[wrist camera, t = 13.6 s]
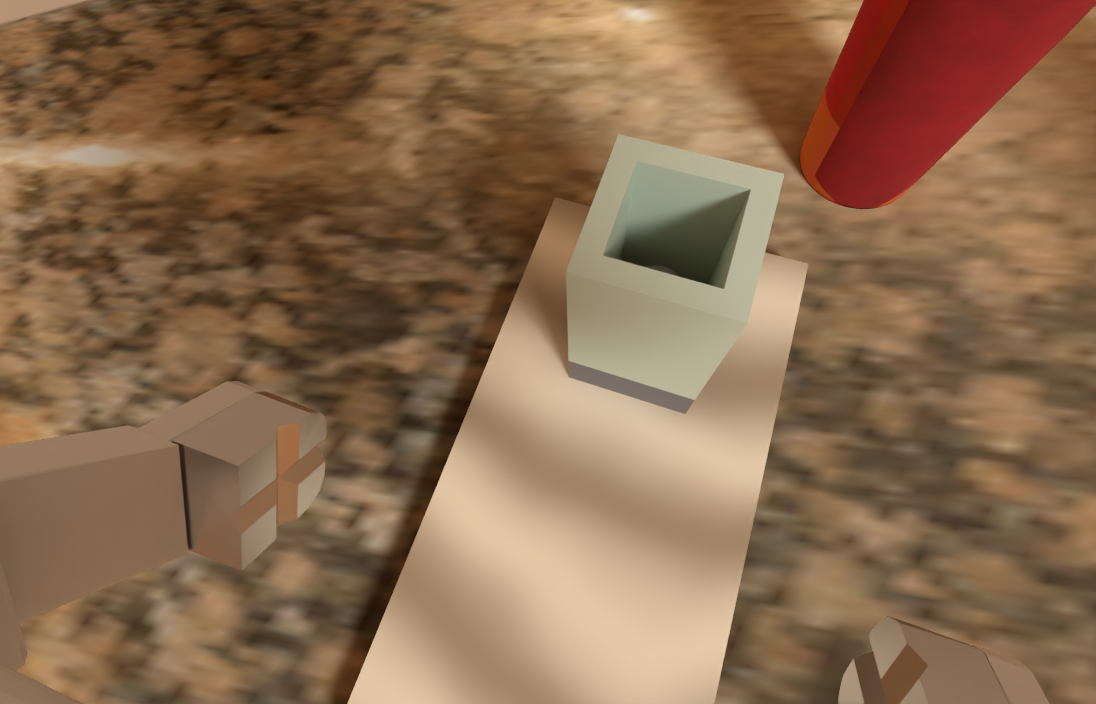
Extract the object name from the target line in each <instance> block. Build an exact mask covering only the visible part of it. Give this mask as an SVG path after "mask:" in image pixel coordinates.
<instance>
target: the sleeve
mask: <svg viewBox="0 0 1096 704" xmlns="http://www.w3.org/2000/svg"><path fill="white" fill-rule="evenodd" d="M783 178H784V174H782V173H778V172H774V171H769V170H765V169H761V168H757V167H753V166H749V165H745V164H740V163H736V162H732V161H728V160H724V159H720V158H716V157H711V156H707V155H703V154H699V153H695V152H691V151H687V150H682V149H678V148H674V147H670V146H666V145H662V144H657V143H653V142H649V141H645V140H641V139H637V138H633V137H628V136H624V135H620V134H618V137H617V140H616V142H615V145H614V147H613V150H612V153H611V155H610V158H609V161H608V163H607V166H606V168H605V171H604V174H603V176H602V179H601V181H600V184H599V187H598V189H597V192H596V195H595V197H594V200H593V202H592V205H591V208H590V210H589V213H588V215H587V218H586V221H585V223H584V226H583V229H582V231H581V234H580V236H579V239H578V242H577V244H576V247H575V249H574V252H573V255H572V257H571V260H570V263H569V265H568V268H567V270H566V289H567V324H568V359H569V378H573V379H576V380H579V381H582V382H585V383H588V384H592V385H595V386H598V387H601V388H604V389H607V390H611V391H614V392H617V393H620V394H623V395H626V396H629V397H633V398H636V399H639V400H642V401H645V402H648V403H652V404H655V405H658V406H661V407H664V408H667V409H671V410H674V411H677V412H680V413H683V414H686V412H687V411H688V409H689V408H690V406H691V405H692V404H693V402H694V401H695V399H696V398H697V396H698V395H699V393H700V392H701V390H702V389H703V388H704V386H705V385H706V383H707V382H708V380H709V379H710V377H711V376H712V374H713V373H714V371H715V370H716V369H717V367H718V366H719V364H720V363H721V361H722V360H723V358H724V357H725V355H726V354H727V353H728V351H729V350H730V348H731V347H732V345H733V344H734V342H735V341H736V339H737V338H738V337H739V335H740V334H741V332H742V331H743V329H744V328H745V326H746V325H747V323H748V319H749V315H750V311H751V307H752V303H753V299H754V295H755V291H756V287H757V283H758V279H759V275H760V271H761V267H762V263H763V259H764V255H765V250H766V246H767V242H768V238H769V234H770V230H771V226H772V222H773V218H774V214H775V210H776V206H777V202H778V198H779V194H780V190H781V186H782V182H783ZM655 265H658V266H664V267H667V268H669V269H671V270H673V271H674V272H675V273H676V274H677V275H678V276H675V275H671V274H668V273H664V272H661V271H657V270H653V269H650V268H646V267H649V266H655Z"/></svg>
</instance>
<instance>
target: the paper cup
mask: <svg viewBox="0 0 1096 704" xmlns="http://www.w3.org/2000/svg"><path fill="white" fill-rule="evenodd" d="M1095 5H1096V0H864V1H863V4H862V6H861V8H860V10H859V13H858V15H857V17H856V20H855V22H854V24H853V26H852V29H851V31H850V33H849V36H848V38H847V40H846V43H845V45H844V47H843V49H842V52H841V54H840V56H839V59H838V61H837V63H836V66H835V68H834V70H833V72H832V75H831V77H830V79H829V82H828V84H827V86H826V89H825V91H824V93H823V96H822V98H821V100H820V103H819V105H818V107H817V110H816V112H815V114H814V117H813V119H812V122H811V124H810V127H809V129H808V132H807V134H806V137H805V139H804V142H803V145H802V148H801V152H800V166H801V170H802V173H803V175H804V177H805V179H806V180H807V182H808V183H809V184H810V186H811V187H812V188H813V189H814V190H815V191H816V192H818V193H819V194H820V195H821V196H823V197H824V198H826V199H828V200H830V201H832V202H834V203H836V204H839V205H842V206H845V207H849V208H856V209H871V208H878V207H881V206H884V205H887V204H889V203H891V202H893V201H895V200H896V199H898V198H899V197H900V196H901V195H903V194H904V193H905V192H906V191H907V190H908V189H909V188H910V187H912V186H913V185H914V184H915V183H916V182H917V181H918V180H919V179H920V178H921V177H922V176H923V175H924V174H925V173H926V172H927V171H928V170H929V169H930V168H931V167H932V166H933V165H934V164H935V163H936V162H937V161H938V160H939V159H940V158H941V157H942V156H943V155H944V154H945V153H946V152H947V151H948V150H949V149H950V148H951V147H953V146H954V145H955V144H956V143H957V142H958V141H959V140H960V139H961V138H962V137H963V136H964V135H965V134H966V133H967V132H968V131H969V130H970V129H971V128H972V127H973V126H974V125H975V124H976V123H977V122H978V121H979V120H980V119H981V118H982V117H983V116H984V115H985V114H986V113H987V112H988V111H989V110H990V109H991V108H992V107H993V106H994V105H995V104H996V103H997V102H998V101H999V100H1000V99H1001V98H1002V97H1003V96H1004V95H1005V94H1006V93H1007V92H1008V91H1009V90H1010V89H1011V88H1012V87H1013V86H1014V85H1015V84H1016V83H1017V82H1018V81H1019V80H1020V79H1021V78H1022V77H1023V76H1024V75H1025V74H1026V73H1027V72H1028V71H1030V70H1031V69H1032V68H1033V67H1034V66H1035V65H1036V64H1037V63H1038V62H1039V61H1040V60H1041V59H1042V58H1043V57H1044V56H1045V55H1046V54H1047V53H1048V52H1049V51H1050V50H1051V49H1052V48H1053V47H1054V46H1055V45H1056V44H1057V43H1058V42H1059V41H1060V40H1062V39H1063V38H1064V37H1065V36H1066V35H1067V34H1068V33H1069V32H1070V31H1071V30H1072V28H1073V27H1074V26H1075V25H1076V24H1077V23H1078V22H1079V21H1080V20H1081V19H1082V18H1083V17H1084V16H1085V15H1086V14H1087V13H1088V12H1089V11H1090V10H1091V9H1092V8H1093V7H1094V6H1095Z"/></svg>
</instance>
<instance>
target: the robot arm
mask: <svg viewBox="0 0 1096 704" xmlns="http://www.w3.org/2000/svg"><path fill="white" fill-rule="evenodd" d="M325 438H326V418H325V417H324V416H323V415H322V414H321V413H320V412H318V411H315V410H313V409H310V408H307V407H305V406H302V405H300V404H297V403H294V402H292V401H289V400H287V399H284V398H281V397H279V396H276V395H274V394H271V393H269V392H266V391H265V392H264V391H262V390H259V389H257V388H254V387H252V386H249V385H246V384H244V383H241V382H238V381H236V382H225V383H223V384H221V385H219V386H217V387H216V388H214V389H212V390H210V391H208V392H206V393H204V394H202V395H200V396H199V397H197V398H195V399H193V400H191V401H189V402H187V403H185V404H183V405H182V406H180V407H178V408H176V409H174V410H172V411H170V412H168V413H166V414H165V415H163V416H161V417H159V418H157V419H155V420H153V421H151V422H149V423H148V424H146V425H144V426H142V427H140V428H138V429H136V428H133V427H131V426H122V427H116V428H110V429H103V430H97V431H91V432H85V433H79V434H73V435H66V436H60V437H54V438H48V439H42V440H36V441H29V442H23V443H17V444H11V445H5V446H0V704H82V703H80V702H78V701H76V700H74V699H72V698H70V697H68V696H66V695H64V694H62V693H60V692H58V691H55V690H53V689H51V688H49V687H47V686H45V685H43V684H41V683H39V682H37V681H35V680H33V679H31V678H29V677H27V676H25V675H23V674H21V673H19V672H17V671H16V670H18V669H19V668H20V667H21V666H23V665H24V663H25V660H26V656H27V653H28V652H27V649H26V645H25V642H24V638H23V635H22V632H21V628H20V625H19V623H20V622H23V621H25V620H28V619H30V618H33V617H35V616H38V615H40V614H42V613H45V612H47V611H50V610H52V609H55V608H57V607H60V606H62V605H64V604H67V603H69V602H72V601H74V600H77V599H79V598H82V597H84V596H86V595H89V594H91V593H94V592H96V591H99V590H101V589H103V588H106V587H108V586H111V585H113V584H116V583H118V582H121V581H123V580H125V579H128V578H130V577H133V576H135V575H138V574H140V573H143V572H145V571H147V570H150V569H152V568H155V567H157V566H160V565H162V564H164V563H167V562H169V561H172V560H174V559H177V558H179V557H182V556H184V555H186V554H188V553H189V551H188V550H190V551H192V552H195V553H197V554H200V555H203V556H205V557H208V558H210V559H213V560H216V561H218V562H221V563H223V564H226V565H229V566H231V567H234V568H236V569H239V570H243V569H244V568H246V567H247V566H248V565H249V564H250V563H251V562H252V561H253V560H254V559H255V558H256V557H257V556H258V555H259V554H260V553H261V552H263V551H264V550H265V549H266V548H267V547H268V546H269V545H270V544H271V543H272V542H273V541H274V540H275V539H276V535H277V525H279V524H282V523H285V522H288V521H292V520H295V519H297V518H298V517H299V516H300V515H301V514H302V513H303V512H304V511H305V510H306V509H307V508H308V507H309V506H310V505H311V503H312V502H313V500H314V498H315V497H316V495H317V493H318V492H319V490H320V488H321V485H322V481H323V478H324V474H325V460H324V458H323V456H322V454H321V452H320V450H319V448H318V447H317V445H318V444H320V443H321V442H322V441H323V440H324V439H325ZM869 638H870V642H871V645H872V649H873V652H870V653H867V654H864V655H861V656H858V657H855V658H853V660H852V662H851V663H850V665H849V667H848V668H847V670H846V672H845V673H844V675H843V679H842V683H841V688H840V692H839V697H838V699H839V704H1049V702H1048V700H1047V698H1046V697H1045V695H1044V693H1043V691H1042V690H1041V688H1040V686H1039V684H1038V682H1037V681H1036V679H1035V677H1034V675H1033V674H1032V672H1031V671H1030V670H1029V669H1028V668H1027V667H1026V666H1025V665H1024V664H1023V663H1022V662H1020V661H1019V660H1017V659H1014V658H1011V657H1008V656H1005V655H1002V654H999V653H996V652H993V651H990V650H987V649H984V648H981V647H978V646H975V645H969V644H966V643H963V642H961V641H958V640H955V639H952V638H949V637H946V636H944V635H941V634H938V633H935V632H932V631H929V630H927V629H924V628H921V627H918V626H915V625H912V624H910V623H907V622H904V621H901V620H898V619H895V618H892V617H890V616H887V617H885V618H884V619H882V620H880V621H879V622H878V623H877V624H876V626H875V627H874V628H873V630H872V631H871V633H870V634H869Z"/></svg>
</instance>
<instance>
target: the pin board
mask: <svg viewBox="0 0 1096 704" xmlns="http://www.w3.org/2000/svg"><path fill="white" fill-rule="evenodd" d="M590 208H591V206H587V205H584V204H580V203H576V202H572V201H568V200H565V199H561V198H557V197H555V199H554V201H553V204H552V206H551V209H550V211H549V213H548V216H547V218H546V221H545V223H544V226H543V228H542V230H541V233H540V235H539V238H538V240H537V243H536V245H535V248H534V250H533V252H532V255H531V257H530V260H529V262H528V265H527V267H526V269H525V272H524V274H523V277H522V279H521V282H520V284H519V287H518V289H517V291H516V294H515V296H514V299H513V301H512V304H511V306H510V308H509V311H508V313H507V316H506V318H505V321H504V323H503V326H502V328H501V330H500V333H499V335H498V338H497V340H496V343H495V345H494V347H493V350H492V352H491V355H490V357H489V360H488V362H487V365H486V367H485V369H484V372H483V374H482V377H481V379H480V382H479V384H478V387H477V389H476V391H475V394H474V396H473V399H472V401H471V404H470V406H469V408H468V411H467V413H466V416H465V418H464V421H463V423H462V426H461V428H460V430H459V433H458V435H457V438H456V440H455V443H454V445H453V447H452V450H451V452H450V455H449V457H448V460H447V462H446V465H445V467H444V469H443V472H442V474H441V477H440V479H439V482H438V484H437V486H436V489H435V491H434V494H433V496H432V499H431V501H430V504H429V506H428V508H427V511H426V513H425V516H424V518H423V521H422V523H421V525H420V528H419V530H418V533H417V535H416V538H415V540H414V543H413V545H412V547H411V550H410V552H409V555H408V557H407V560H406V562H405V564H404V567H403V569H402V572H401V574H400V577H399V579H398V582H397V584H396V586H395V589H394V591H393V594H392V596H391V599H390V601H389V603H388V606H387V608H386V611H385V613H384V616H383V618H382V621H381V623H380V625H379V628H378V630H377V633H376V635H375V638H374V640H373V642H372V645H371V647H370V650H369V652H368V655H367V657H366V660H365V662H364V664H363V667H362V669H361V672H360V674H359V677H358V679H357V681H356V684H355V686H354V689H353V691H352V694H351V696H350V699H349V701H348V703H347V704H714V702H715V697H716V693H717V688H718V683H719V679H720V674H721V669H722V665H723V660H724V655H725V651H726V646H727V641H728V637H729V632H730V627H731V623H732V618H733V613H734V609H735V604H736V599H737V595H738V590H739V585H740V581H741V576H742V571H743V567H744V562H745V557H746V553H747V548H748V543H749V539H750V534H751V529H752V525H753V520H754V515H755V511H756V506H757V501H758V497H759V492H760V487H761V483H762V478H763V473H764V469H765V464H766V459H767V455H768V450H769V445H770V441H771V436H772V431H773V427H774V422H775V417H776V413H777V408H778V403H779V399H780V394H781V389H782V385H783V380H784V375H785V371H786V366H787V361H788V357H789V352H790V347H791V343H792V338H793V333H794V329H795V324H796V319H797V315H798V310H799V305H800V301H801V296H802V291H803V287H804V282H805V277H806V273H807V268H808V264H807V263H804V262H800V261H796V260H792V259H788V258H785V257H781V256H777V255H773V254H769V253H766V252H765V255H764V259H763V263H762V267H761V271H760V275H759V279H758V283H757V287H756V291H755V295H754V299H753V303H752V307H751V311H750V315H749V319H748V323H747V325H746V326H745V328H744V329H743V331H742V332H741V334H740V335H739V337H738V338H737V339H736V341H735V342H734V344H733V345H732V347H731V348H730V350H729V351H728V353H727V354H726V355H725V357H724V358H723V360H722V361H721V363H720V364H719V366H718V367H717V369H716V370H715V371H714V373H713V374H712V376H711V377H710V379H709V380H708V382H707V383H706V385H705V386H704V388H703V389H702V390H701V392H700V393H699V395H698V396H697V398H696V399H695V401H694V402H693V404H692V405H691V406H690V408H689V409H688V411H687V412H686V414H683V413H680V412H677V411H674V410H671V409H667V408H664V407H661V406H658V405H655V404H652V403H648V402H645V401H642V400H639V399H636V398H633V397H629V396H626V395H623V394H620V393H617V392H614V391H611V390H607V389H604V388H601V387H598V386H595V385H592V384H588V383H585V382H582V381H579V380H576V379H573V378H569V359H568V324H567V289H566V270H567V268H568V265H569V263H570V260H571V257H572V255H573V252H574V249H575V247H576V244H577V242H578V239H579V236H580V234H581V231H582V229H583V226H584V223H585V221H586V218H587V215H588V213H589V210H590ZM646 268H650V269H653V270H657V271H661V272H664V273H668V274H671V275H675V276H678V275H677V274H676V273H675V272H674V271H673V270H671V269H669V268H667V267H664V266H658V265H655V266H649V267H646Z"/></svg>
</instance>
